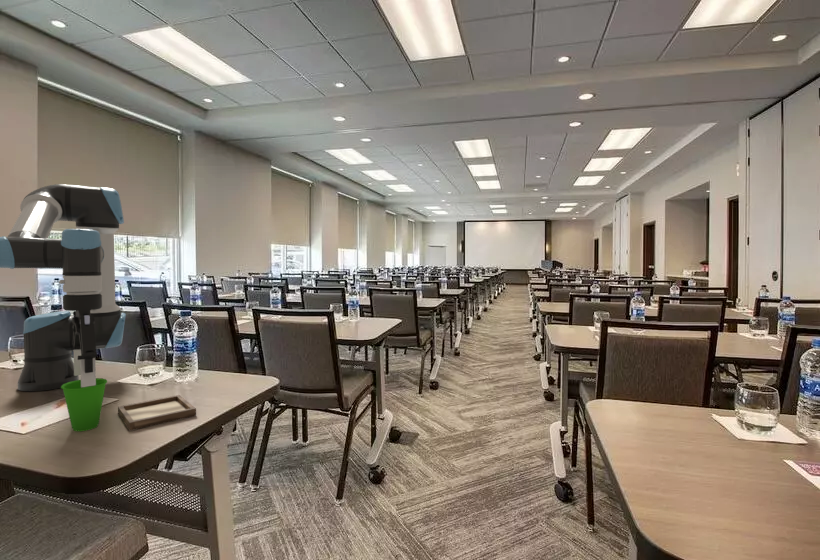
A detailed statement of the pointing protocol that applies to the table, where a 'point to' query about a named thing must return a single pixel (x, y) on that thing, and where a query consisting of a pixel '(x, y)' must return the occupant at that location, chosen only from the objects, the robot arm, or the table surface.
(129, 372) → the table surface
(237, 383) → the table surface
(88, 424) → the cup
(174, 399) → the tray
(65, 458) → the table surface
